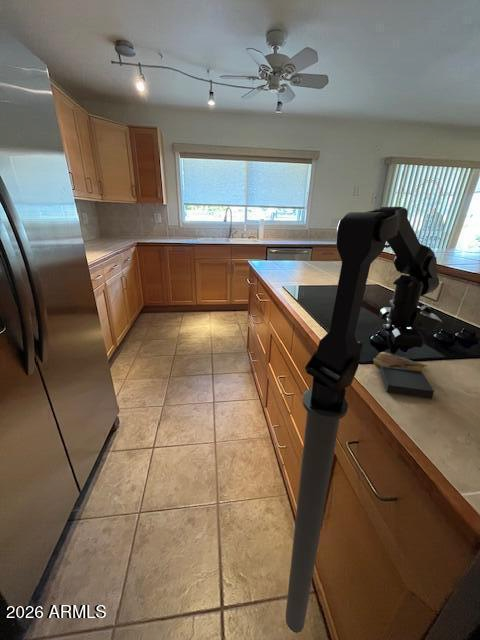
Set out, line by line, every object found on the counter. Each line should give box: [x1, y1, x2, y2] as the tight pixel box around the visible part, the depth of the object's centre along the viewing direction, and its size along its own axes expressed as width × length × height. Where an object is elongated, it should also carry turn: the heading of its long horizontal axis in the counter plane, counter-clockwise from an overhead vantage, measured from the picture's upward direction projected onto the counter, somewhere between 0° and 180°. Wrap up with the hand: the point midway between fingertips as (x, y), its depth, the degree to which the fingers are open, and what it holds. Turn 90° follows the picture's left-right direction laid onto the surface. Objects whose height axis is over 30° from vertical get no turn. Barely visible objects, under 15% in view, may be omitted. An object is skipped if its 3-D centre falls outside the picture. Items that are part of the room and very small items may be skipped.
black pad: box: [379, 366, 435, 400], centre depth 62 cm, size 9×8×2 cm
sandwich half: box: [373, 351, 428, 370], centre depth 68 cm, size 11×8×2 cm
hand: (392, 352), depth 73 cm, fingers closed
